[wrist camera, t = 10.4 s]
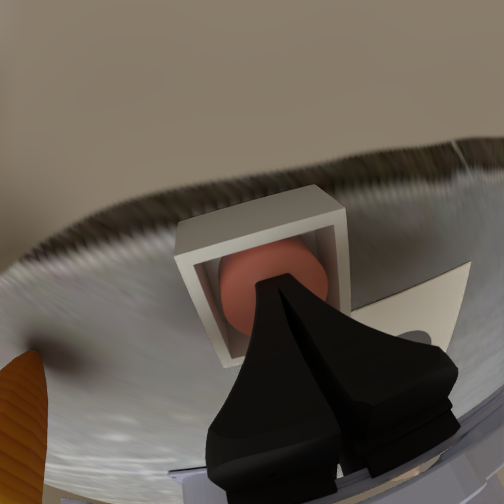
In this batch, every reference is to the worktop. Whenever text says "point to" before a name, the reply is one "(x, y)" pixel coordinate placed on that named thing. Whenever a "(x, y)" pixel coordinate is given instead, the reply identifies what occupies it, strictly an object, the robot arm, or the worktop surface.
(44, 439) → the carrot
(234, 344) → the button housing
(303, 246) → the button
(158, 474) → the worktop surface
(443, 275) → the paper sheet
